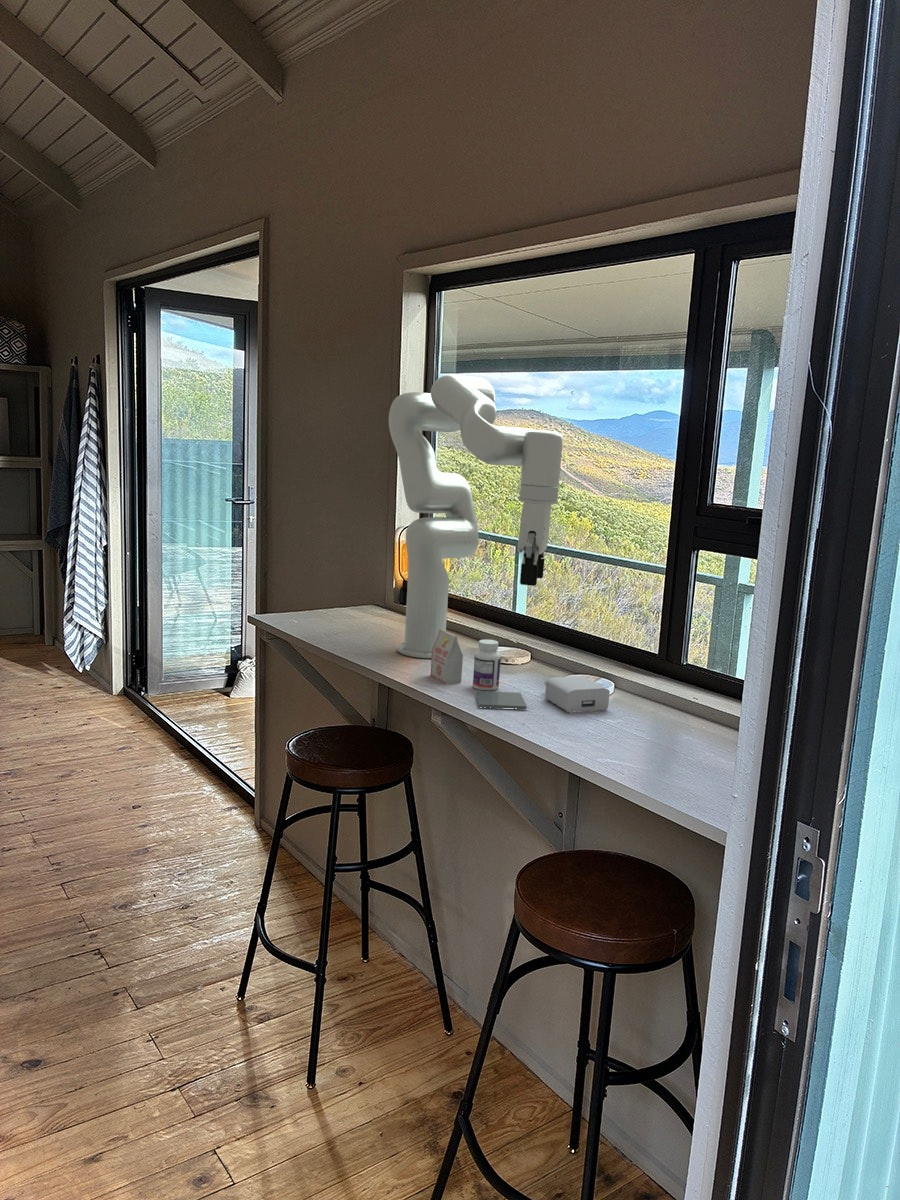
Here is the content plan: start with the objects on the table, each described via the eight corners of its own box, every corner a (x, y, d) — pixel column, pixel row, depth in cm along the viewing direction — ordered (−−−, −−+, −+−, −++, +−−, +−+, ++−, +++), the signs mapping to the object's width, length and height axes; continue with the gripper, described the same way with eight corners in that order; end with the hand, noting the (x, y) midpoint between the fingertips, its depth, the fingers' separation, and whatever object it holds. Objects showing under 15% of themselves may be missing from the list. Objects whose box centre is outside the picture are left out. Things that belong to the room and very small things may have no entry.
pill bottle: (485, 682, 191) (488, 637, 190) (504, 688, 188) (507, 642, 186) (467, 686, 188) (470, 640, 186) (485, 692, 184) (488, 645, 182)
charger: (569, 689, 191) (607, 711, 177) (530, 691, 187) (566, 714, 174) (571, 667, 190) (610, 687, 176) (532, 669, 186) (568, 690, 173)
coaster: (475, 694, 182) (475, 690, 182) (520, 696, 183) (520, 692, 182) (479, 708, 173) (479, 704, 173) (526, 710, 174) (526, 706, 174)
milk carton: (445, 674, 196) (448, 628, 194) (461, 682, 190) (464, 636, 188) (430, 675, 194) (433, 629, 192) (445, 684, 188) (448, 637, 186)
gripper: (525, 490, 186) (519, 573, 190) (512, 495, 170) (505, 586, 173) (562, 493, 185) (555, 576, 188) (552, 499, 168) (545, 590, 171)
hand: (531, 581), depth 181 cm, fingers open, 9 cm apart
